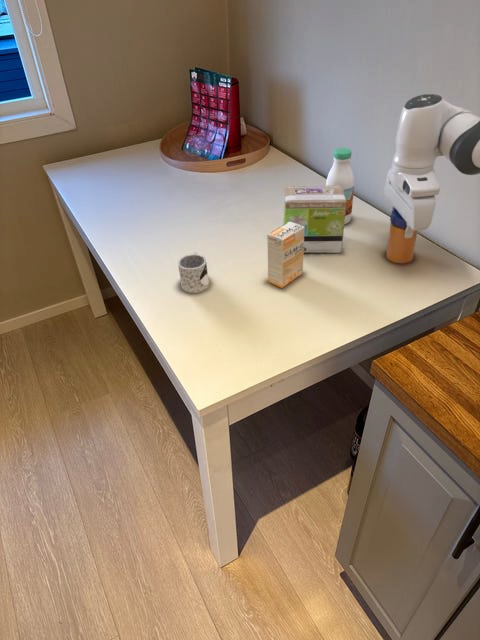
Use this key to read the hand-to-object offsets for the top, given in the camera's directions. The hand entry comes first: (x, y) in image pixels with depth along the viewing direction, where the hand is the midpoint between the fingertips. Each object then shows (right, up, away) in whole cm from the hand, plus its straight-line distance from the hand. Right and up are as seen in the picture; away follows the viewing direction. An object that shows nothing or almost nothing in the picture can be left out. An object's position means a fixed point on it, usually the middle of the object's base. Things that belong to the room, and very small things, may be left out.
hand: (401, 228), depth 118 cm
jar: (+1, -6, +5) cm, 8 cm away
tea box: (-20, -2, +12) cm, 24 cm away
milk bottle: (-11, +7, +22) cm, 26 cm away
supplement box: (-28, -12, 0) cm, 31 cm away
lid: (0, +3, -2) cm, 4 cm away
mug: (-50, -13, +2) cm, 52 cm away
